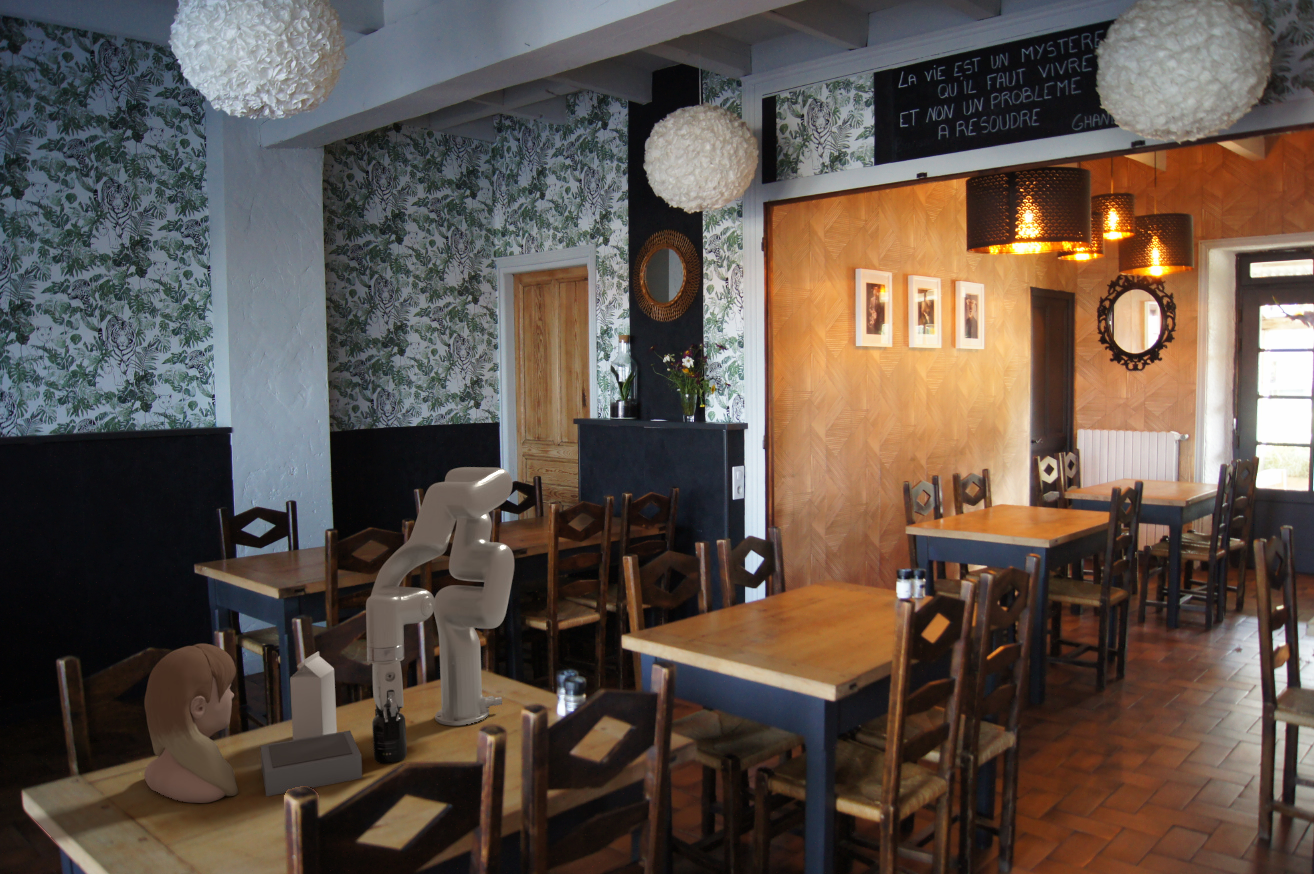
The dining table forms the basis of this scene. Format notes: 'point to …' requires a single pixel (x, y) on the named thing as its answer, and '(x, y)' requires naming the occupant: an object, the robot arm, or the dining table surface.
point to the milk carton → (313, 698)
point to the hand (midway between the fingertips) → (387, 732)
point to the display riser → (310, 762)
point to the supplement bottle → (388, 749)
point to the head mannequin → (190, 724)
